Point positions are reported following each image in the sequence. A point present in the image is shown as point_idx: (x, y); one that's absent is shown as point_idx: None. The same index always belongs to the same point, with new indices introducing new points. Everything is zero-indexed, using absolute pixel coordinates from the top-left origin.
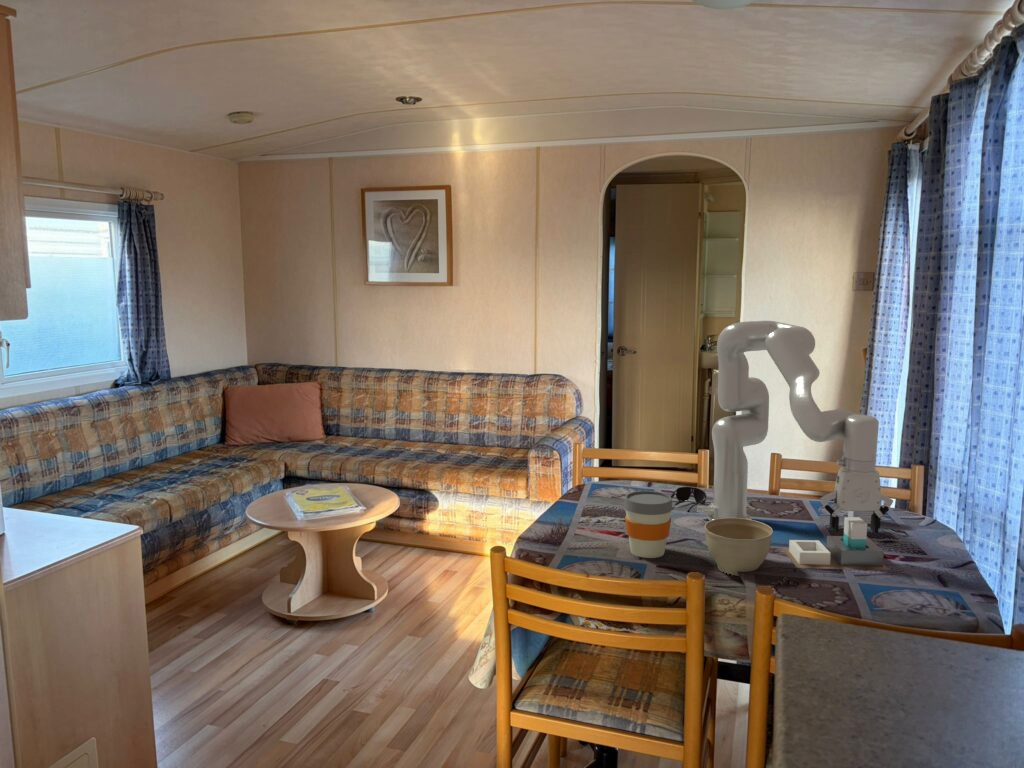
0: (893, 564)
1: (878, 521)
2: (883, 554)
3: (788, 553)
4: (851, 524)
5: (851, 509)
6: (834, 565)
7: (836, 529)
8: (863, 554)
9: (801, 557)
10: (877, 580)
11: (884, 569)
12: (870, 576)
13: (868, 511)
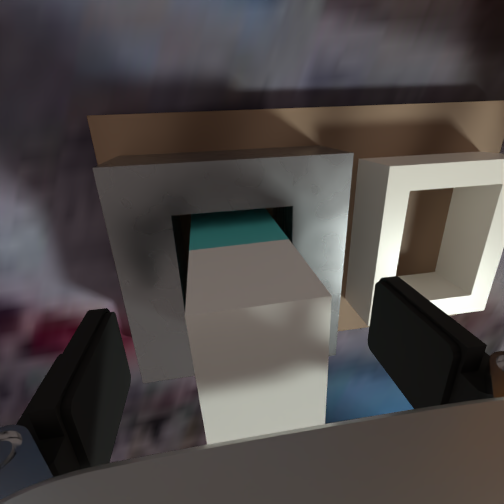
0: (54, 259)
1: (51, 379)
2: (98, 165)
3: None
4: (325, 304)
5: (462, 421)
6: (343, 149)
7: (401, 282)
8: (221, 158)
9: (499, 154)
10: (171, 44)
11: (116, 117)
12: (192, 99)
13: (165, 453)
